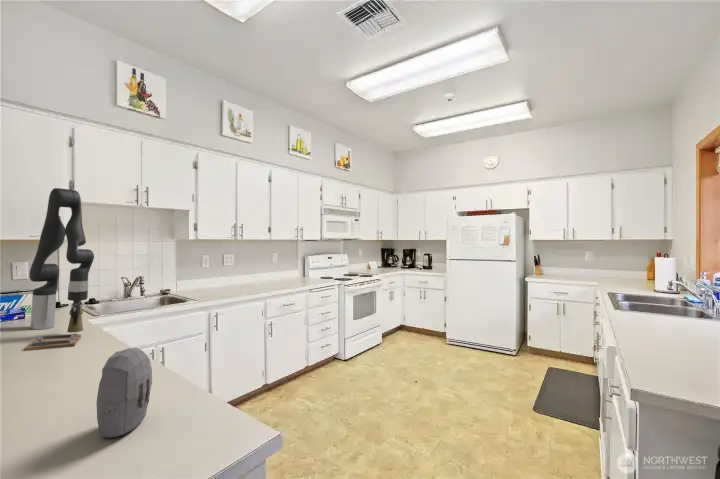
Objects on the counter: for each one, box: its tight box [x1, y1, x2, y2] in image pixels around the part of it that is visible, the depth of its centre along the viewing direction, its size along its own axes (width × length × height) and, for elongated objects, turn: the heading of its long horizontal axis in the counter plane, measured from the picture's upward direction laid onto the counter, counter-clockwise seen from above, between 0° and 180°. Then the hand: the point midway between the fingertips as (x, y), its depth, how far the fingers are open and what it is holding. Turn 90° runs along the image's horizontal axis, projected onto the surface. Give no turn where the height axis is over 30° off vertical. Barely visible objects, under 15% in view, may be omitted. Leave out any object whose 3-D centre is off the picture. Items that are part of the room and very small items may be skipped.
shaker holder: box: [24, 333, 82, 352], centre depth 153 cm, size 16×16×2 cm
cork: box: [66, 307, 84, 333], centre depth 169 cm, size 6×6×11 cm
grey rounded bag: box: [96, 347, 153, 438], centre depth 87 cm, size 15×8×20 cm, turn 4°
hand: (75, 325), depth 168 cm, fingers closed on cork, 2 cm apart
